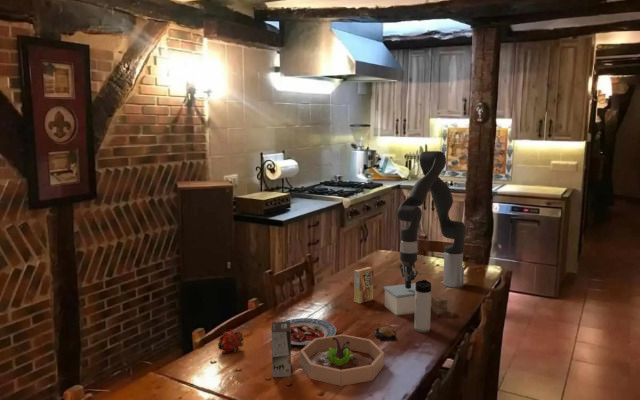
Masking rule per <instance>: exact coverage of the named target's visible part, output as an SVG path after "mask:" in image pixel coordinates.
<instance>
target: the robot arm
mask: <svg viewBox="0 0 640 400" xmlns="http://www.w3.org/2000/svg"><path fill="white" fill-rule="evenodd" d="M418 162H419V166H420V170H421V172H422V173H423V177H422V178H420V179H419V180H418V181H416V182H415V184H414V185H413V186H412V189H411V190H410V193H409V194H408V196H407V198H405V200H404V201H403V202H402V203H401V204H400V205H399V207H398V208H397V211H396V215H397V218H398V220H399V221H401V222H408V223H410V225H409V226H402V227H401V229H400V246H399V260H400V262H401V264H399V270H400V272H401V276H402V278H404V279H403V280H405V281H404V284H405V288H407V289H410V288H411V283H412V281H414V280H415V279H416V277H417V275H418V274H419V273H418V271H417V270H416V269H415V268H416V266H415V263H416V262H417V261H418V246H419V245H418V230H419V226H420V222H421V220H422V216H423V212H422V209H421V206H423V204H424V203H425V200H426V197H427V195H428V193H429V191H430V195H431V198H432V201H433V204H434V206H435V210H436V213H437V218H438V221H439V226H440V231H441V234H442V236H443V237H444V238H446V239H451V240H453V243H451V244H446V245H445V246H444V251H443V252H444V253H443V254H444V255H443V278H442V279H443V280H442V281H443V286H445V287H447V288H460V287H462V286H464V285H465V284H464V283H465V282H464V281H465V280H464V278H465V267H464V266H463V263H464V261H463V259H464V249H465V239H466V225H465V223H464V222H463V221H459V220H453V219H451V218H450V216H449V215H450V214H449V213H450V211H451V208H452V206H453V203H454V199H453V194H452V191H451V188H450V187H449V185H447V183H445V181H444V180H443V179H441V178H440V177H439V176H440V175H441V173H442V172H443V170H444V169H445V167H446V164H447V157H446V155H445V153H444V151H439V150H433V151H432V150H431V151H430V150H428V151H426V150H425V151H422V152H421V153H420V155H419V161H418Z"/></svg>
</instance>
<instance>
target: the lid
mask: <svg viewBox="0 0 640 400" xmlns="http://www.w3.org/2000/svg"><path fill="white" fill-rule="evenodd" d="M382 289H383V290H384V291H385V290H386V291H388V292H389V293H391V294H392V295H393V296H395V297H404V296H411V295H415V289H416V282H411V288H410V289H407V288H405V283H404V284H395V285H388V286H387V285H386V286H383V288H382Z"/></svg>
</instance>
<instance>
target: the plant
mask: <svg viewBox="0 0 640 400" xmlns="http://www.w3.org/2000/svg"><path fill="white" fill-rule="evenodd" d="M334 340H336V341H337V348H336V349H333V348H331V347H330V348H329V350H328V351H322V352H319V354H316V355H313V356H312V359H311V360H310V361H311V362H312V364H317V365H321V366H326V367H330V368H335V369H339V370H344V369H350V368H356V367H361V366H367V365H371V362H370V359H369V358H368V357H365V356H363V355H361V354H360V353H358V352H352V351H353V350H350V348H349V347H346V346H345V344H346V343H347V344H348V345H351V342H350V341H346V342H345V343H344V344H343V346H342V348H340V343H339V341H338V339H337V338H335V337H332V338H331V341H334Z"/></svg>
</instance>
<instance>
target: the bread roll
mask: <svg viewBox="0 0 640 400" xmlns="http://www.w3.org/2000/svg"><path fill="white" fill-rule="evenodd" d="M374 336H375V338H376V339H377V341H378V342H396V341H397V336H396V331H395V330H394V329H393V328H391V327H390V326H381V327H379V328H376V329H375V330H374Z"/></svg>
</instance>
